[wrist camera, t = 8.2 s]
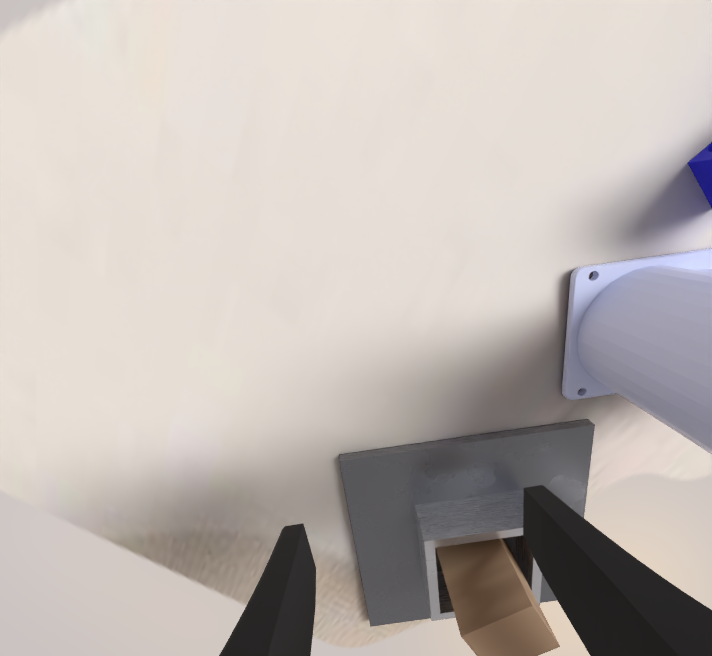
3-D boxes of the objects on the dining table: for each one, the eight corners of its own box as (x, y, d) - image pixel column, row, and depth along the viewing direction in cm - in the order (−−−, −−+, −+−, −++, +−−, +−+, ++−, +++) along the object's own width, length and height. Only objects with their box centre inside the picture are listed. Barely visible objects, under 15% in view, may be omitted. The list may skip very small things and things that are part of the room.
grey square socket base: (587, 419, 21) (629, 453, 18) (569, 589, 26) (598, 638, 23) (339, 454, 21) (338, 494, 18) (369, 617, 26) (373, 670, 23)
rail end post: (483, 506, 22) (532, 605, 17) (506, 542, 23) (559, 646, 18) (431, 531, 23) (461, 636, 17) (456, 565, 24) (492, 674, 18)
